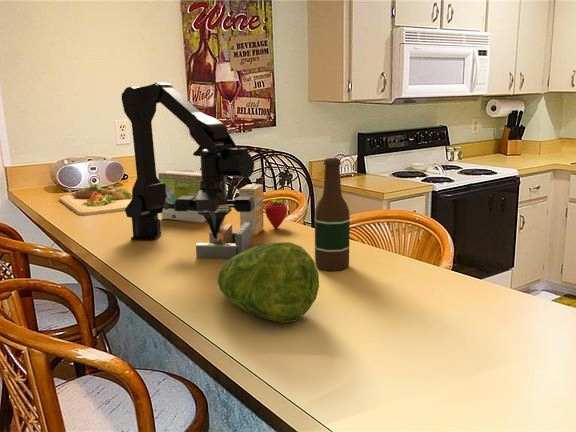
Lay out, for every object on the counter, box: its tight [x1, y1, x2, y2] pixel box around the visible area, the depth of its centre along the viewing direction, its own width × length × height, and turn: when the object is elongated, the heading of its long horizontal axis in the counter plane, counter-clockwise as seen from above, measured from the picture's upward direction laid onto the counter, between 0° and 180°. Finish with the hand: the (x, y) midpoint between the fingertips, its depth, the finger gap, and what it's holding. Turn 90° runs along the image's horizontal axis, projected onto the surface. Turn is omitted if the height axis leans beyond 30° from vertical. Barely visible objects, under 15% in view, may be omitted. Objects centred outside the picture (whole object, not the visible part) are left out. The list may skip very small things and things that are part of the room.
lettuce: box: [216, 241, 320, 324], centre depth 97 cm, size 14×23×13 cm, turn 38°
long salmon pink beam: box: [217, 223, 233, 244], centre depth 134 cm, size 2×12×5 cm, turn 174°
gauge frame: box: [195, 221, 254, 260], centre depth 135 cm, size 11×14×6 cm
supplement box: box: [238, 183, 264, 237], centre depth 151 cm, size 8×5×13 cm, turn 168°
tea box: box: [158, 168, 218, 224], centre depth 170 cm, size 15×10×15 cm
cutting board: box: [59, 183, 132, 217], centre depth 196 cm, size 35×23×8 cm
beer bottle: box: [314, 157, 351, 272], centre depth 119 cm, size 8×8×24 cm
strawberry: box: [264, 194, 288, 229], centre depth 156 cm, size 6×8×10 cm
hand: (216, 238), depth 135 cm, fingers closed
